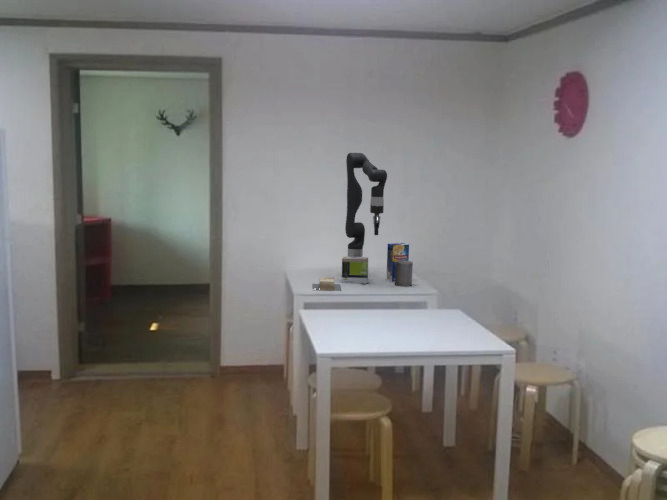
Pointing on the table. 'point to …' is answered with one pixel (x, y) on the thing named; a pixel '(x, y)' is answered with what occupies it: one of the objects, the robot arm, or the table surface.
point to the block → (326, 283)
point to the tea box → (355, 270)
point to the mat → (336, 288)
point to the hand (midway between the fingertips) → (376, 235)
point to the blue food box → (395, 258)
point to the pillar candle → (403, 273)
